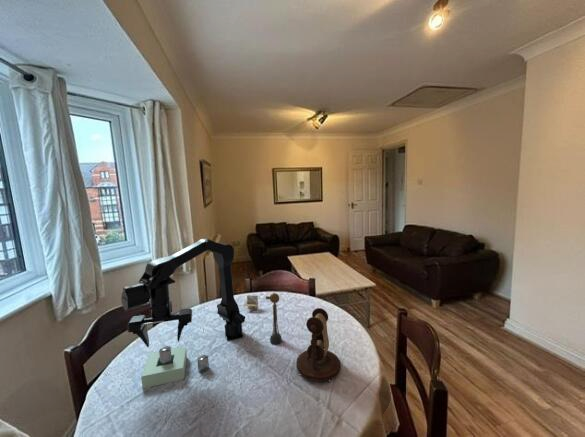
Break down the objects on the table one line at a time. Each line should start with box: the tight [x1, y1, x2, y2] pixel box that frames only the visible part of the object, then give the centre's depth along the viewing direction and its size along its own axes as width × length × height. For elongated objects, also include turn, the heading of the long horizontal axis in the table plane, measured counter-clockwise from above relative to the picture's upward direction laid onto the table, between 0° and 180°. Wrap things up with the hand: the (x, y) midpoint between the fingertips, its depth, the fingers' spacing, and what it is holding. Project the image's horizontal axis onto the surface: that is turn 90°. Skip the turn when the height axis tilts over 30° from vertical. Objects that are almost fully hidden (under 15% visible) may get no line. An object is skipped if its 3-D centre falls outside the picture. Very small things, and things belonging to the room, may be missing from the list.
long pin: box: [158, 345, 172, 366], centre depth 89 cm, size 4×4×8 cm
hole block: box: [141, 346, 188, 389], centre depth 89 cm, size 12×12×4 cm
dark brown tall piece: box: [295, 307, 342, 382], centre depth 87 cm, size 15×15×20 cm
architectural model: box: [242, 295, 259, 311], centre depth 133 cm, size 3×7×7 cm, turn 83°
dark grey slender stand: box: [265, 292, 283, 346], centre depth 104 cm, size 6×5×20 cm
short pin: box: [196, 354, 210, 374], centre depth 90 cm, size 4×4×4 cm
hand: (163, 343), depth 88 cm, fingers open, 9 cm apart
